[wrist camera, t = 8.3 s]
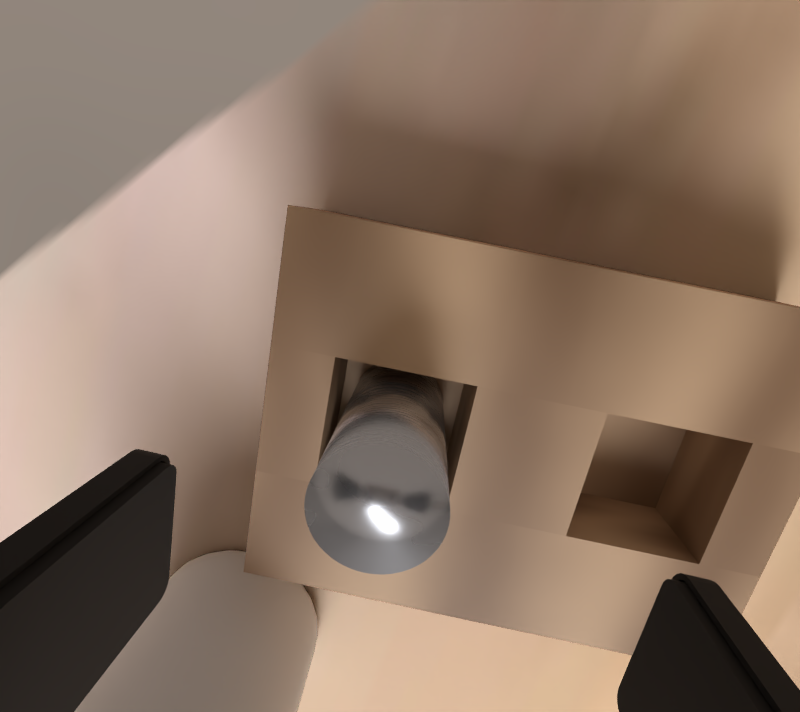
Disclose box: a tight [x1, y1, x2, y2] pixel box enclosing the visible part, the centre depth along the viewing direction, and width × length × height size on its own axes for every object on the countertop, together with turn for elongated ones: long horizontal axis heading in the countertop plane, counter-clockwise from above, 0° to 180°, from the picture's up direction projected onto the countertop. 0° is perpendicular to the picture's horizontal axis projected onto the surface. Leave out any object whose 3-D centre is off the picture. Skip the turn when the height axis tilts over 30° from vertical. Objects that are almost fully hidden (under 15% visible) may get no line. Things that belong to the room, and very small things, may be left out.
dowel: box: [304, 365, 450, 575], centre depth 14 cm, size 3×3×7 cm
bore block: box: [243, 205, 800, 655], centre depth 16 cm, size 16×12×4 cm
